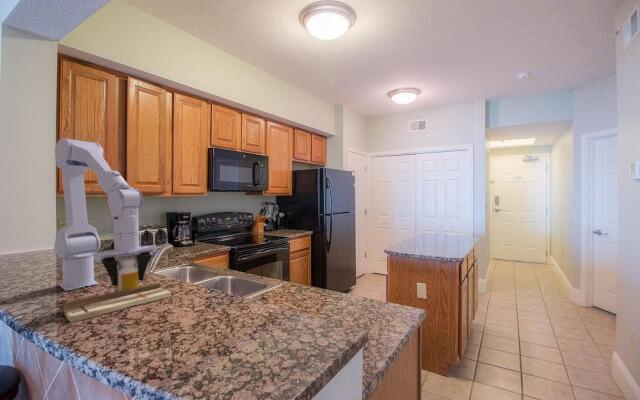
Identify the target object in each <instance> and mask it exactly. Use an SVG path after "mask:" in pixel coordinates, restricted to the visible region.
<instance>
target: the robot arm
mask: <svg viewBox="0 0 640 400" xmlns="http://www.w3.org/2000/svg"><path fill="white" fill-rule="evenodd" d="M54 154H55V163H56V167H57V168H58V169H60V170H61V174H62V176H61V177H62V185H63V186H62V187H63V198H64V211H65V221H66V225H65V226H64V227H62V228H61V229H59V230H58V231H57V232H56V233H55V241H54V251H55V254H56V256H58V258H60V259H62V260H63V261H62V282H61V283H58V286H59V287H61V289H63V290H64V291H72V290H77V289H81V287H82V288H86V287H85V286H88V287H92V285H93V286H97V285H99V282H98V281H96V280H95V269H94V268H95V265H94V261H95V262H100V261H101V264H103V266H104V269H106V271H107V273H108V275H109V278H110V282H111V285H112V286H114V287H116V286H117V269H118V260H116V258H124V257H131V256H135V260H136V264H137V266H136V267H138V272H139V281H144V278H145V273H146V270H147V267H148V265H149V263H150V261H151V259H152V257H153V255H152V253H153V254H154V253H157V250H158V249H157V245H155V244H151V245H141V246H140V235H139V233H140V230H139V226H140V225H139V209H140V208H141V207H143V202H144V197H143V193H142V192H141V191H140V189H138V188H134V187H131V186H130V185H129V183H128V182H127V181H126V180H125V179H124V178H123V176H122V175H121V173H120V172H119V171H117V170H113V169H111V167H110V166H109V164H108V162H107V161H106V160H105V157H104V149H103V148H102V146H101V144H100V143H98V142H96V141H95V142H91V141H83V140H77V139H71V138H67V137H62V138H60V139H58V141H57V143H56V144H55V148H54ZM89 170H92V171H93V173H95V174H96V176H98V177H97V184H98V185H99V186H100V188H101V189H102V190H103V192H104V193H105V194H106V196H107V198H108V199H107V205H108V208H109V209H110V215H111V217H113V245H114V246H113V248H114V249H108V250H104V251H99V249H100V248H101V239H100V237H99V234H98V229H97V228H96V227H94V226H92V225H91V224H89V223H88V211H87V210H88V209H87V201H86V198H87V197H86V189H85V180H84V179H85V177H84V174H85V172H87V171H89ZM75 234H77V235H75Z"/></svg>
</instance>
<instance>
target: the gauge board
mask: <svg viewBox="0 0 640 400" xmlns="http://www.w3.org/2000/svg"><path fill="white" fill-rule="evenodd" d="M161 286H162V285H161V282H160V281H159V282H154V283H150V284H144V285H139V287H135V288H130V289H126V290H121V291H117V292H116V291H114V292H108V293H103V294H99V295H94V296H90V297H85V298H81V299H76V300H72V301H68V302H64V303H63V302H62V314H63V316H64V317H66V318H67V320H68V321H69V322H70V323H75V322H79V321H84V320H87V319H90V318H95V317H98V316H102V315H106V314H110V313H113V312H117V311H120V310H121V311H122V310H125V309H128V308H127V307H129V308H131V307H130V306H133V307H135V306H134V305H137V306H139V305H138V304H141V305H143V304H142V303H144V304H148V303H151V302H156V301H159V300H162V299H167V298H171V297H172V292H171V291H169V290H167V289H165V288H163V287H161ZM147 302H148V303H147ZM124 308H125V309H124Z"/></svg>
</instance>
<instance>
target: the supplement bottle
mask: <svg viewBox="0 0 640 400" xmlns="http://www.w3.org/2000/svg"><path fill="white" fill-rule="evenodd" d="M117 262H118V263H117V286H115V292H117V291H121V290H126V289H130V288H135V287H139V286H140V282H139V281H140V280H139V272H138V266H136V258H135V257H134V258H133V257H132V258H130V257H129V258H122V259H119V260H117Z"/></svg>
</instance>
